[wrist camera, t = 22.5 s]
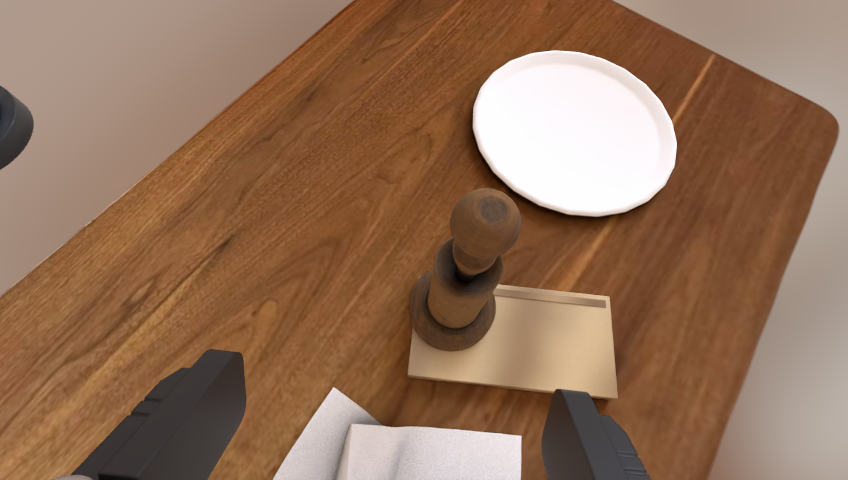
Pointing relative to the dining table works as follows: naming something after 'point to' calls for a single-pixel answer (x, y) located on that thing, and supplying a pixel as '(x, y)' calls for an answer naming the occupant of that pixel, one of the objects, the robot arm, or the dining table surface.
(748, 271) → the dining table surface
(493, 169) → the plate
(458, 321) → the mortar and pestle
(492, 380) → the cutting board
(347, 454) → the cloth
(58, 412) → the dining table surface
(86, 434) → the dining table surface
